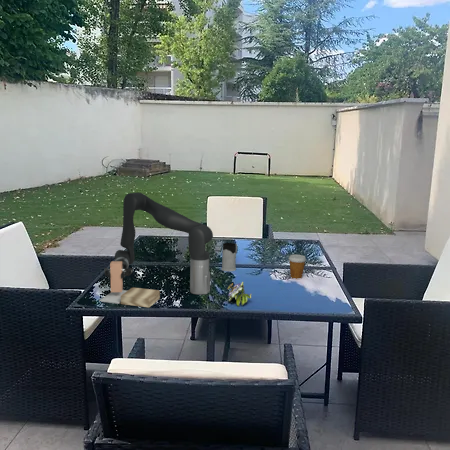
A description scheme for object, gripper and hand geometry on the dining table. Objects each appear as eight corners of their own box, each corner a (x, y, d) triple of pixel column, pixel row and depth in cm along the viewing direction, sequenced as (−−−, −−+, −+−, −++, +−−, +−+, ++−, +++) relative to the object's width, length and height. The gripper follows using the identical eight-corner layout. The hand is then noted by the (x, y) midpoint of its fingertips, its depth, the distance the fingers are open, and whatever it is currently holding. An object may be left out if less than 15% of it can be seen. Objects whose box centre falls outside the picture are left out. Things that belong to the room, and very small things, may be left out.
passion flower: (230, 312, 214) (225, 288, 219) (252, 307, 215) (247, 283, 220) (230, 307, 204) (225, 281, 208) (254, 302, 205) (248, 277, 209)
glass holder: (218, 269, 263) (219, 244, 260) (229, 264, 275) (230, 240, 272) (232, 272, 259) (232, 246, 256) (242, 266, 271) (243, 241, 268)
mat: (134, 292, 222) (134, 291, 222) (118, 303, 207) (118, 302, 207) (115, 290, 225) (115, 289, 225) (99, 301, 210) (99, 300, 209)
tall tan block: (122, 289, 218) (122, 261, 215) (121, 292, 214) (121, 263, 211) (112, 289, 217) (111, 261, 214) (110, 292, 213) (110, 263, 210)
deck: (159, 298, 215) (159, 290, 214) (149, 307, 203) (149, 299, 203) (132, 295, 218) (132, 287, 217) (120, 304, 207) (120, 295, 206)
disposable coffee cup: (306, 280, 248) (308, 258, 245) (289, 280, 247) (290, 258, 244) (302, 274, 257) (303, 254, 254) (286, 274, 256) (287, 254, 254)
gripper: (105, 258, 226) (99, 268, 210) (134, 258, 228) (131, 268, 211) (106, 273, 228) (100, 284, 211) (135, 273, 229) (131, 284, 213)
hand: (115, 276), depth 211 cm, fingers closed on tall tan block, 5 cm apart
